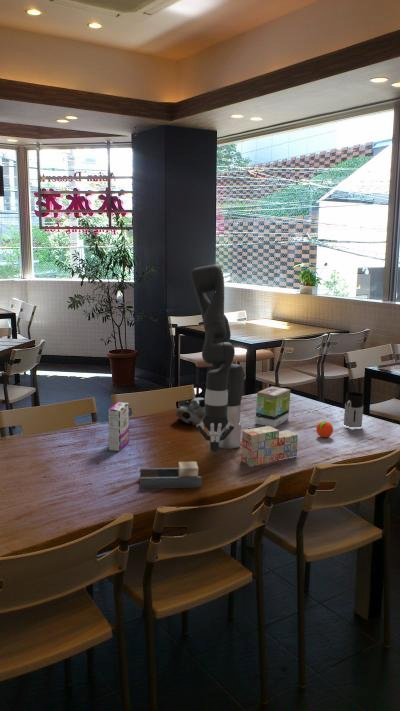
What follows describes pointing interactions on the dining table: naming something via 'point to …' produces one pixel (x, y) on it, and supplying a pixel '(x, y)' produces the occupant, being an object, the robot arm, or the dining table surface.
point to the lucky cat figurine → (192, 411)
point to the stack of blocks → (267, 445)
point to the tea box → (272, 406)
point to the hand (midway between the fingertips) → (214, 451)
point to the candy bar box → (118, 426)
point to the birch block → (188, 469)
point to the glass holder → (353, 409)
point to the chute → (167, 478)
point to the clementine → (324, 429)
